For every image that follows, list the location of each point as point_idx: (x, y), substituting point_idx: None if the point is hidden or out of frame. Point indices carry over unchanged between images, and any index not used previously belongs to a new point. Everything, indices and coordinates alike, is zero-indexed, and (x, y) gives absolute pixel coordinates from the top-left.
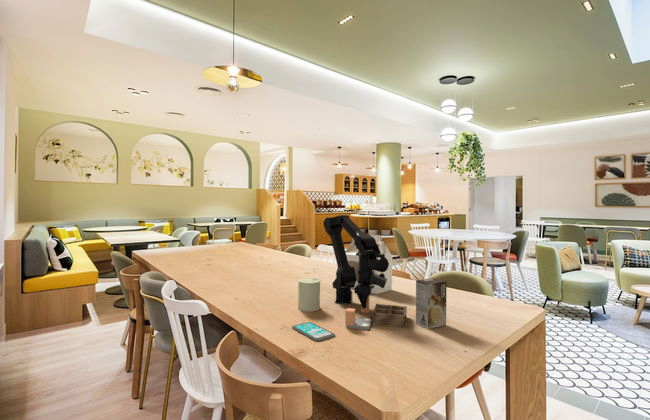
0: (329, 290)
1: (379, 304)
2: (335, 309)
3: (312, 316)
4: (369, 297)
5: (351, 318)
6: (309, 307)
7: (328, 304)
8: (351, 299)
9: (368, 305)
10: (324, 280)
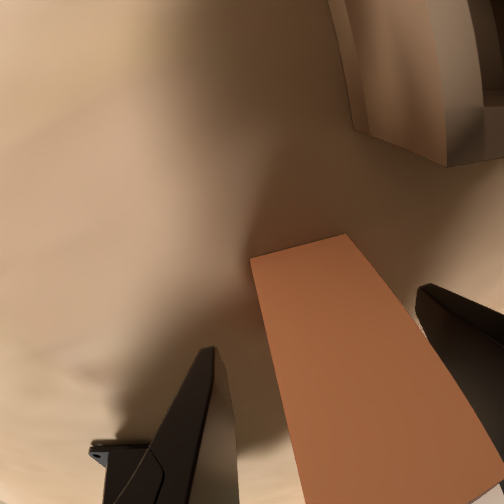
0: (64, 500)
1: (469, 85)
2: None
3: None
4: (286, 413)
5: None
6: None
7: (269, 479)
8: (139, 462)
9: (387, 287)
10: (5, 499)
